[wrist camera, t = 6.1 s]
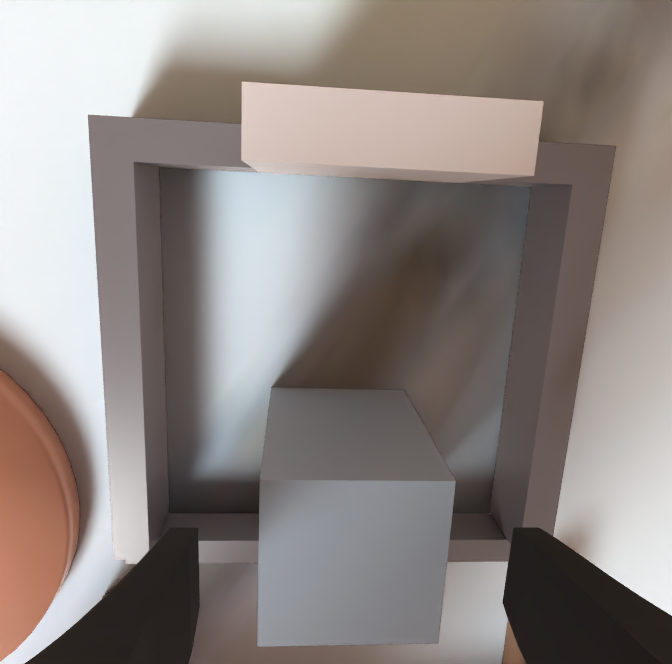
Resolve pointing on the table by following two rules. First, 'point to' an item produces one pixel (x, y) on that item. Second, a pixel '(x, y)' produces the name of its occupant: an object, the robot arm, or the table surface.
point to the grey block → (350, 521)
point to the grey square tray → (360, 162)
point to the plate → (32, 515)
